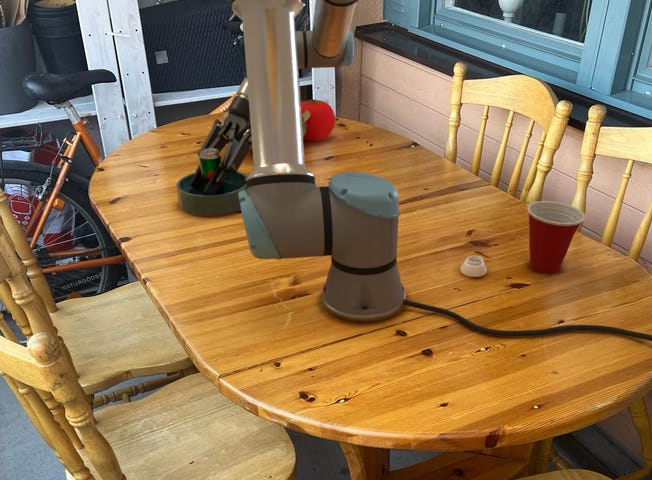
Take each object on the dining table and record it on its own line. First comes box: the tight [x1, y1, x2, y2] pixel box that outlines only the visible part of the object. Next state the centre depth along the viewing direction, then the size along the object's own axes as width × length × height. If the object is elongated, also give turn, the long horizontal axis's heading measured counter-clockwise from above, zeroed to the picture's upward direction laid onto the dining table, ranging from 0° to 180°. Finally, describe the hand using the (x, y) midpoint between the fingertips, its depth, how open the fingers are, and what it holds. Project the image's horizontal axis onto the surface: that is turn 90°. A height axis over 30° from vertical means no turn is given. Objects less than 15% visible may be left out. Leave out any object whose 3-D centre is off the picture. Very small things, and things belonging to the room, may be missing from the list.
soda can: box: [198, 148, 225, 195], centre depth 163 cm, size 5×5×12 cm
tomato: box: [300, 98, 336, 142], centre depth 201 cm, size 12×13×11 cm
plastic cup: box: [526, 200, 586, 274], centre depth 135 cm, size 11×11×12 cm
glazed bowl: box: [175, 171, 249, 216], centre depth 165 cm, size 17×17×5 cm
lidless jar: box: [459, 255, 488, 278], centre depth 136 cm, size 5×3×5 cm
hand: (201, 191), depth 163 cm, fingers closed on soda can, 5 cm apart
